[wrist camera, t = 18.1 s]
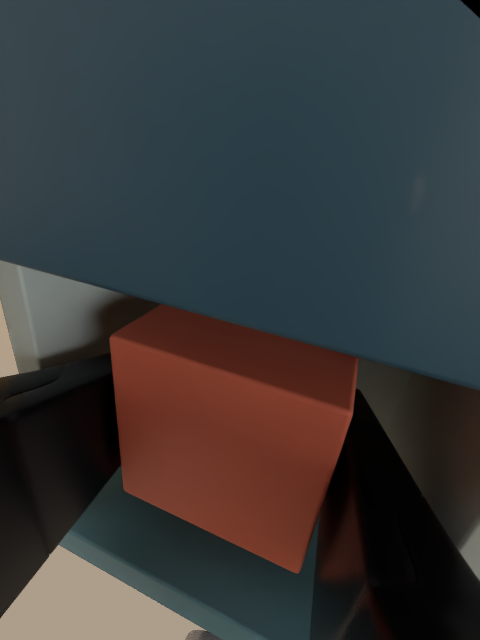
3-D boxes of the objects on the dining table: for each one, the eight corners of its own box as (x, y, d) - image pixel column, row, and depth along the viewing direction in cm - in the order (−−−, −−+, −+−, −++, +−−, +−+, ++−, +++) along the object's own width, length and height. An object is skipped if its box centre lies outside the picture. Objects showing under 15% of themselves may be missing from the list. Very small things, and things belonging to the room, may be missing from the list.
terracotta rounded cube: (327, 431, 10) (299, 577, 7) (204, 389, 12) (122, 492, 8) (364, 306, 8) (353, 413, 5) (211, 272, 10) (106, 334, 6)
